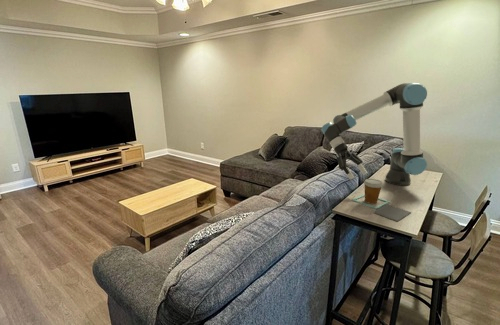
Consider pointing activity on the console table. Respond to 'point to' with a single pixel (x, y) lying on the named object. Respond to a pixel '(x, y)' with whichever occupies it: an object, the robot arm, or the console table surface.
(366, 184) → the disposable coffee cup
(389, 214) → the charcoal mat
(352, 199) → the teal frame
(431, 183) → the console table surface
